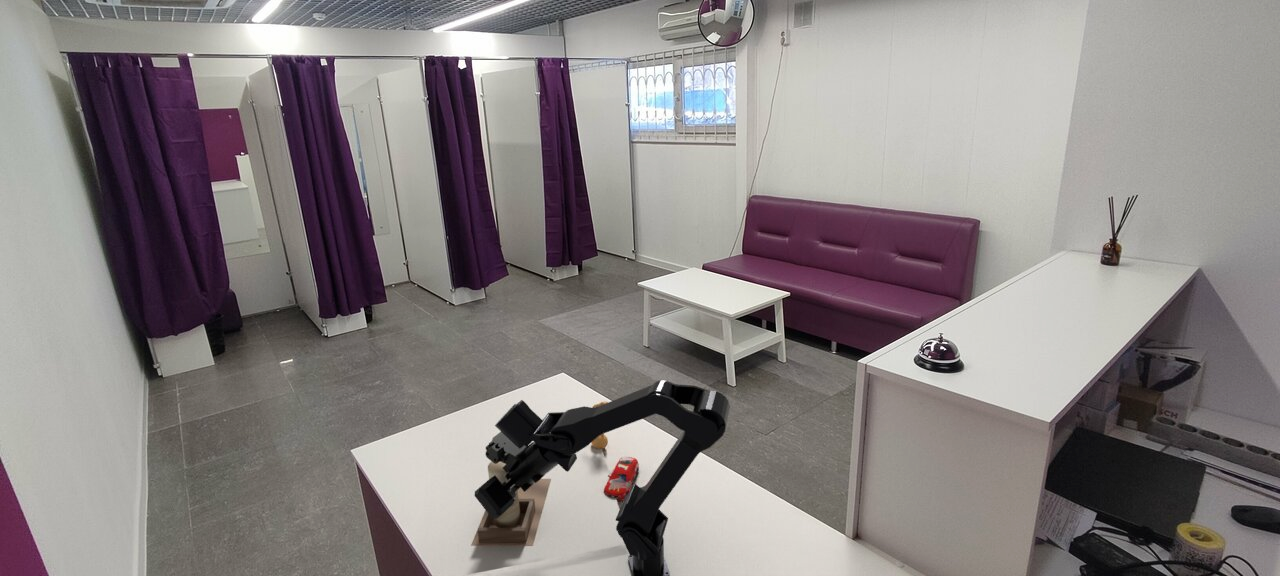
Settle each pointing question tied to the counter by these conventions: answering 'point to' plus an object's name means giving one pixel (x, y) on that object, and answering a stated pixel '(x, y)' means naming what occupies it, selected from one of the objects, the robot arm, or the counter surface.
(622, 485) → the race car
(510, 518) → the post
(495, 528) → the jig board
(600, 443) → the figurine
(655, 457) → the counter surface
